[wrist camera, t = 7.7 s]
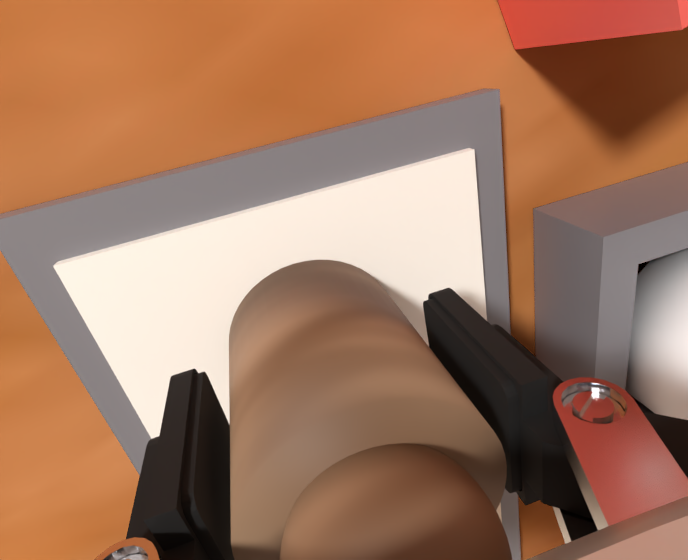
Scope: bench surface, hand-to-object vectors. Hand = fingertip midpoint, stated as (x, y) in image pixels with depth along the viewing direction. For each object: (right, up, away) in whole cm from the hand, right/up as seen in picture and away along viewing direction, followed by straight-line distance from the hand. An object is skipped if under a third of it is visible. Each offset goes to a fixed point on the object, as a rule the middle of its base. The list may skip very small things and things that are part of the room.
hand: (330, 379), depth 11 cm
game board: (+1, -7, +7) cm, 10 cm away
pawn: (-1, +1, +2) cm, 2 cm away
